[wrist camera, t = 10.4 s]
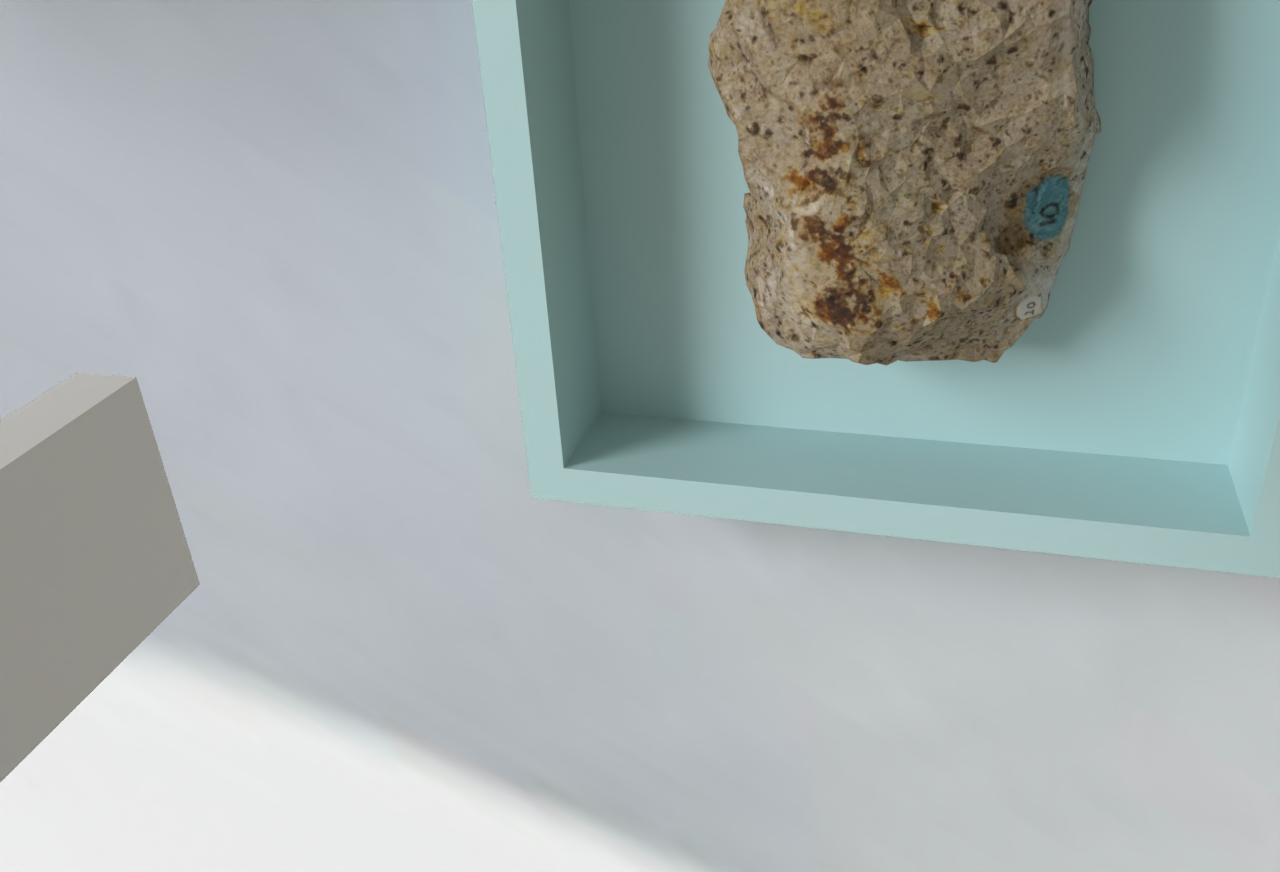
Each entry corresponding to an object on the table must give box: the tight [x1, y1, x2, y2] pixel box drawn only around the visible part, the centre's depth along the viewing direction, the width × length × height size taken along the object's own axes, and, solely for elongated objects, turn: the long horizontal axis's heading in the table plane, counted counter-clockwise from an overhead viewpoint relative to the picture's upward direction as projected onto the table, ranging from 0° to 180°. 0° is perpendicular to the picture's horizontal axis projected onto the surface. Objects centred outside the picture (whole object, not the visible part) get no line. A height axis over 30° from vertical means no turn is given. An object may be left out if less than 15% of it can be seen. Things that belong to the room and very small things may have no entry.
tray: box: [472, 0, 1280, 578], centre depth 25 cm, size 18×18×4 cm
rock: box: [708, 0, 1101, 365], centre depth 24 cm, size 8×11×4 cm
